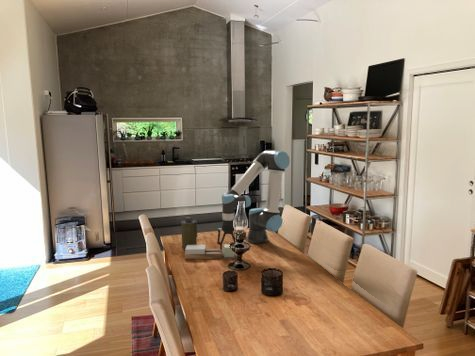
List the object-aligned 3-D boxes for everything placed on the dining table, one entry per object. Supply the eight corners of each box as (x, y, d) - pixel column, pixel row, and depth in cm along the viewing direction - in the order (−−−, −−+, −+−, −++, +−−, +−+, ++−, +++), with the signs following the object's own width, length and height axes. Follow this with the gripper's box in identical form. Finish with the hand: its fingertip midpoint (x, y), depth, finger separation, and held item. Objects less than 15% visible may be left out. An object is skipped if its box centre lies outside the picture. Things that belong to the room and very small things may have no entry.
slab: (187, 249, 244) (186, 244, 244) (205, 249, 245) (205, 244, 244) (185, 254, 236) (185, 249, 235) (204, 253, 236) (204, 249, 235)
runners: (186, 253, 245) (186, 249, 244) (222, 253, 245) (222, 248, 245) (184, 258, 236) (184, 254, 236) (221, 258, 236) (221, 253, 236)
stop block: (224, 253, 244) (224, 244, 243) (233, 253, 244) (233, 244, 243) (224, 256, 238) (224, 247, 237) (233, 256, 238) (233, 247, 237)
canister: (179, 247, 257) (178, 218, 254) (185, 243, 267) (184, 215, 264) (194, 249, 254) (193, 220, 251) (200, 244, 264) (199, 216, 261)
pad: (223, 252, 246) (223, 252, 246) (235, 252, 246) (235, 252, 246) (222, 258, 236) (222, 257, 236) (235, 258, 236) (235, 257, 236)
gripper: (212, 220, 234) (212, 256, 237) (244, 220, 234) (244, 256, 237) (212, 217, 241) (213, 252, 244) (244, 217, 241) (243, 252, 245)
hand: (228, 254), depth 241 cm, fingers open, 7 cm apart
